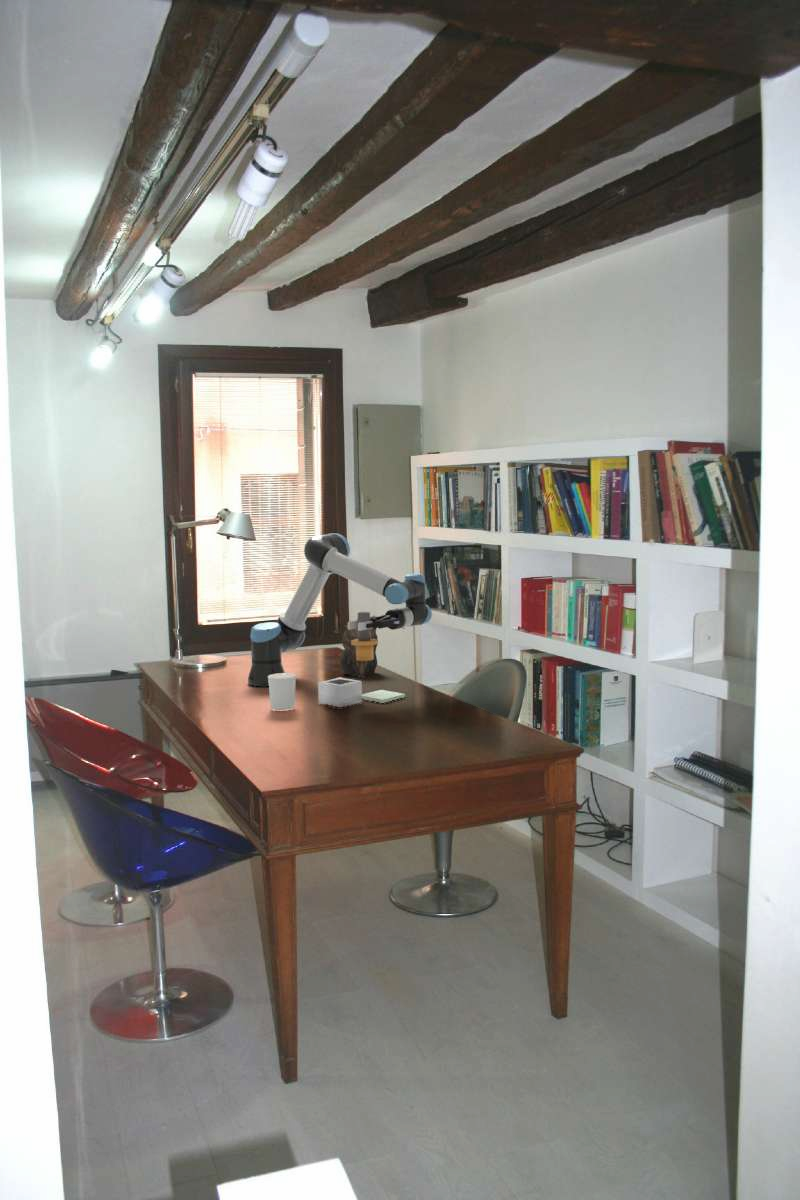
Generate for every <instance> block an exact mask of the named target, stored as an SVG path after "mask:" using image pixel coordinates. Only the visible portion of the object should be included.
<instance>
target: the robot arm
mask: <svg viewBox="0 0 800 1200" xmlns="http://www.w3.org/2000/svg"><path fill="white" fill-rule="evenodd" d="M349 543H350V542H349V541H348V540H347V538H346V537H345V536H344V535H342V534H340V533H334V532H333V533H331V532H330V533H327V534H318V535H317V534H316V535H313V536H312V537H310V538H309V539H308V540H307V541H306V543H305V544H304V548H303V552H304V557H305V559H306V561H307V562H308V563H309V566H308V568H307V570H306V571H305V574H304V576H303V578H302V579H301V582H300V583H299V586H298V588H297V590H296V591H295V594H294V596H293V597H292V599H291V601H290V603H289V605H288V607H287V609H286V611H285V612H283V613H280V615H279V616H278V618H277V620H276V621H269V622H266V621H265V622H261V623H257V624H255V625H253V626H252V627H251V628H250V629H251V630H250V636H249V638H250V648H251V649H250V652H251V653H250V655H251V666H250V669H249V673H248V677H247V685H248V684H250V685H249V686H251V685H253V686H252V687H256V686H261V687H260V688H266V687H267V686H269V683H268V676H269V675H271V674H277V673H286V672H285V669H284V667H283V664H282V654H283V653H287V652H291V651H294V650H296V649H297V648H299V647H300V646H302V645H303V643H304V641H305V638H306V633H305V630H306V629H307V625H306V623H305V622H306V621H307V618H308V617H309V614H310V613H311V610H312V609H313V607H314V605H315V603H316V602H317V601H318V597H319V596H320V594H321V591H322V590H323V588H324V587H325V585H326V582H327V580H329V579H328V578H329V577H330V575H332V574H337V575H338V576H341V577H343V578H344V579H346V580H349V581H351V582H353V583H355V584H357V585H360V586H361V587H364V588H366V589H367V590H370V591H372V592H373V593H376V594H377V595H380V596H382V597H384V598H385V599H386V601H387V602H388V603H389V604H392V605H402V604H405V606H404V607H397V608H392V609H388V610H387V611H386V612H385V614H381V615H372V616H371V615H370V621H367V622H361V623H358V618H357V619H356V620H351V621H347V625H348V630H350V629H356V628H358V631H361V630H367V629H372V627H373V628H374V629H375V628H376V629H378V630H379V629H384V628H385V629H386V628H387V629H390V630H398V629H399V630H400V629H403V630H405V629H406V628H409V627H415V626H422V625H424V624H427V623H429V622H430V621H431V619H432V616H433V613H432V610H431V607H430V606H429V605H427V604H426V580H425V579H426V577H425V575H424V574H422V573H408V574H406V575H404V581H399V580H397V579H396V578H393V577H392V576H389V575H387V574H385V573H383V572H380V571H379V570H377V569H375V568H372V567H370V566H369V565H366V564H364V563H363V562H360V561H358V560H356V559H353V558H351V557H349V556H350V553H351V547H350V544H349ZM267 688H268V687H267Z"/></svg>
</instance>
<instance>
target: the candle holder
mask: <svg viewBox="0 0 800 1200" xmlns="http://www.w3.org/2000/svg"><path fill="white" fill-rule="evenodd" d="M296 676H297V675H296V674H295V673H289V672H285V673H277V674H271V675H269V676H268V683H269V687H268V692H269V703H270V704H269V705H270V710H271V709H275V710H286V709H292V708H294V707H295V706H296V683H297V682H296V678H297V677H296ZM295 708H296V707H295Z"/></svg>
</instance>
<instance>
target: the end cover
mask: <svg viewBox="0 0 800 1200" xmlns="http://www.w3.org/2000/svg"><path fill="white" fill-rule="evenodd" d="M370 617H371V612H369V611H361V612H357V619H358V623H361V622H367V621H370ZM376 644H379V640H377V639H372V638H371V634H370V629H367V630H361V631H358V639H354V640H351V645H354V646H356V660H358V661H370V660H374V652H373V645H376Z"/></svg>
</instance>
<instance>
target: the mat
mask: <svg viewBox="0 0 800 1200" xmlns="http://www.w3.org/2000/svg"><path fill="white" fill-rule="evenodd" d="M404 697H405V698H406V693H402V692H397V691H391V690H390V691H389V690H386V689H385V690H384V689H379V690H374V691H370V692H367V693H366V692H365V693H362V699H365V700H370V701H369V702H371V701H375V702H374V703H376V702H380V703H379V704H381V703H384V702H388V701H392V700H395V701H397V700H396V699H399V698H403V699H405V698H404ZM365 700H364V701H365ZM399 700H400V699H399ZM392 702H393V701H392ZM388 703H389V702H388ZM384 704H385V703H384Z"/></svg>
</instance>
